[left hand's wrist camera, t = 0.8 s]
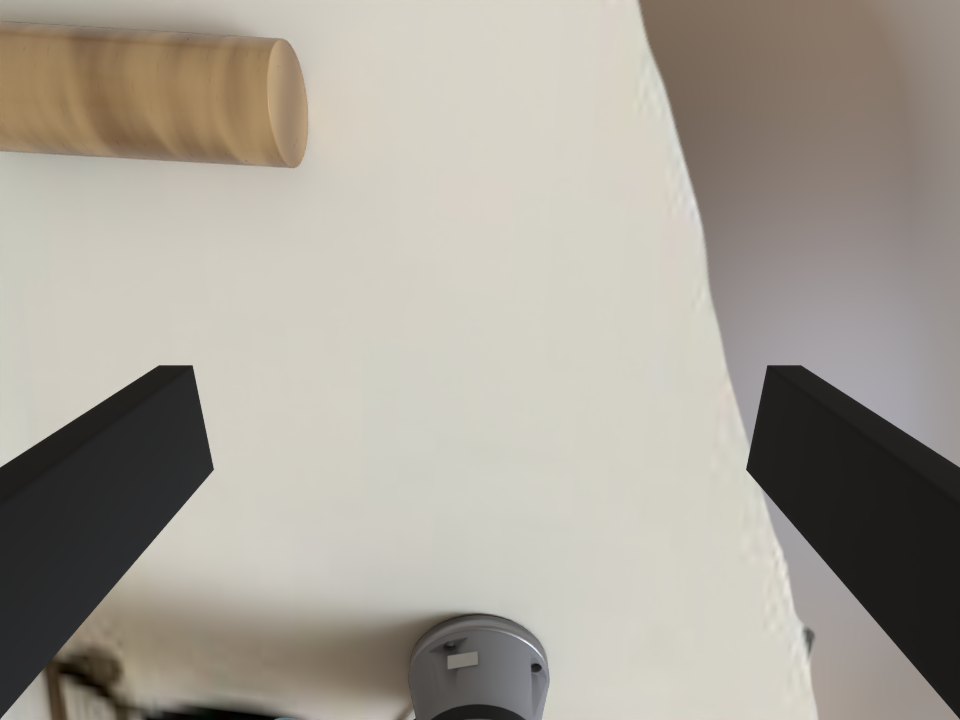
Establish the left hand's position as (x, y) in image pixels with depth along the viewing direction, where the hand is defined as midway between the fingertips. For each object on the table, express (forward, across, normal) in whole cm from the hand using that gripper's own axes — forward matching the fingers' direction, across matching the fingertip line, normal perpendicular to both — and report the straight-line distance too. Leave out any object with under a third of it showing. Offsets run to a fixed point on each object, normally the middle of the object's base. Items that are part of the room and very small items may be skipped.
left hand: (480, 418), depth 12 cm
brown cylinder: (+32, +24, -10) cm, 41 cm away
